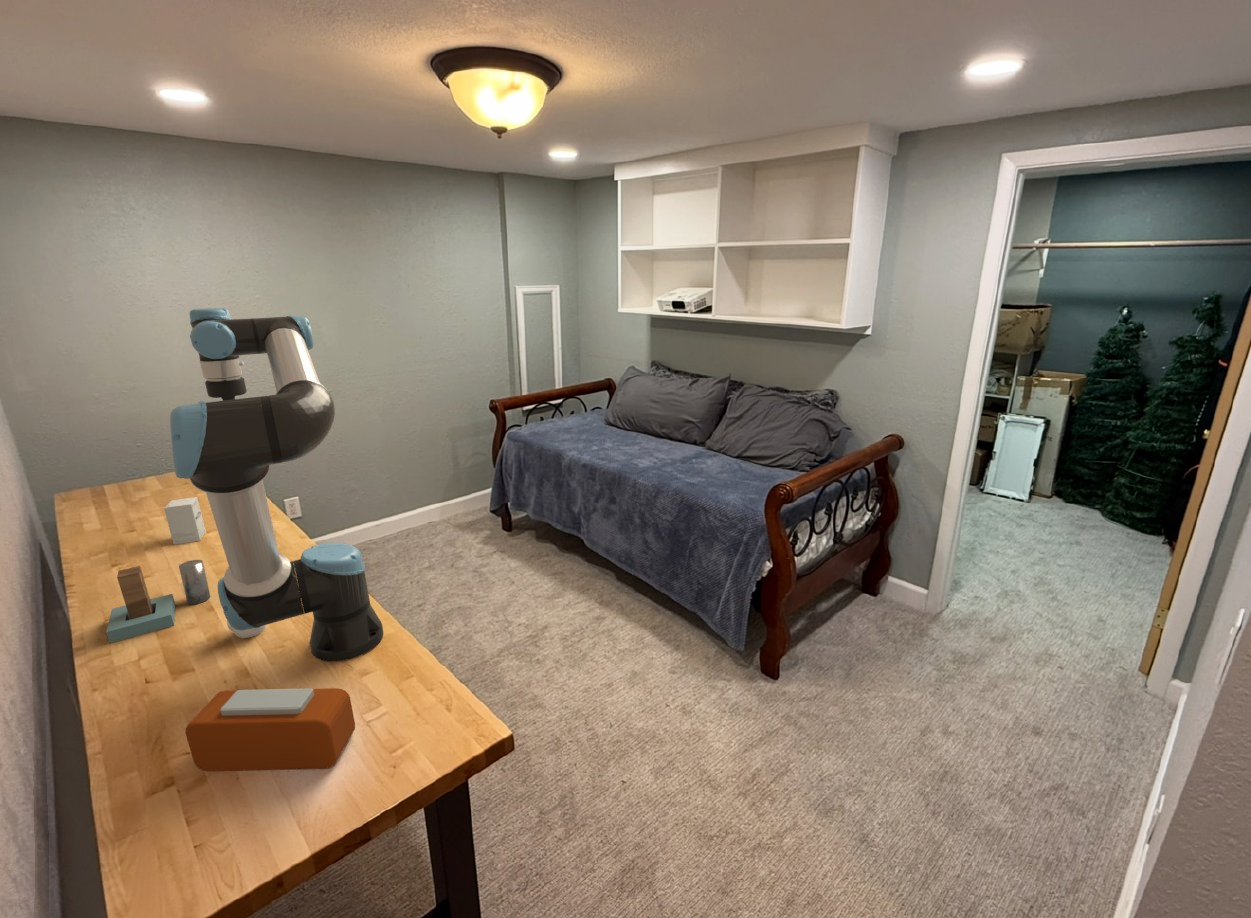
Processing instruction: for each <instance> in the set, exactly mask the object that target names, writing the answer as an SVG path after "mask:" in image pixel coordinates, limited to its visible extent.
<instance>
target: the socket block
mask: <svg viewBox="0 0 1251 918" xmlns="http://www.w3.org/2000/svg"><path fill="white" fill-rule="evenodd" d="M173 594H174V593H170V594H166V595H161V596H158V597H154V598H150V601H151V604H152V608H153V611H154V614H150V615H146V616H142V617H139V618H135V619H131V620H130V617H129V614H128V611H127V608H126V604H125V605H122V606H119V607H114V608H111V612H110V615H109V619H108V623H107V627H106V632H105V633H106V636H107V639H108V642H109V644H112V643H116V642H119V641H123V640H127V639H131V638H134V637H138V636H142V635H145V634H149V633H152V632H156V631H160V630H163V629H167V628H170V627H174V626H175V620H176V619H175V617H176V614H175V613H176V601H175V597H174V595H173Z"/></svg>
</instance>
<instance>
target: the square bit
mask: <svg viewBox="0 0 1251 918" xmlns="http://www.w3.org/2000/svg"><path fill="white" fill-rule="evenodd" d="M143 574H144V573H143V571H142V568H141V565H137V566H131V567H128V568H125V569H120V570H118V573H117V576H116V578H117V579H116V580H117V581H118V585H119V588H120V591H121V594H122V595H121V596H122V598H123V600H124V604H125V605H126V608H127V611H128V614H129V617H130V620H131V619H135V618H139V617H142V616H146V615H150V614H154V611H153V608H152V604H151V601H150V599H151V598H150V595H149V591H148V588H147V584H146V581H145V578H144V575H143Z"/></svg>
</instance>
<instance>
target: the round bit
mask: <svg viewBox="0 0 1251 918" xmlns="http://www.w3.org/2000/svg"><path fill="white" fill-rule="evenodd" d="M203 561H204V560H202V559H192V560H187V561H184V562H183V563H181V564H179V566H178V569H179V573H180V579H181V583H182V586H183V590H184V594H185V598H186V603H187V604H190V605H195V604H196V605H197V604H201V603H203V602H206V601H209V599H210V598H211V594H210V589H209V583H208V580H207V578H208V577H207V575H206V569H205V565H204V562H203Z"/></svg>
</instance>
